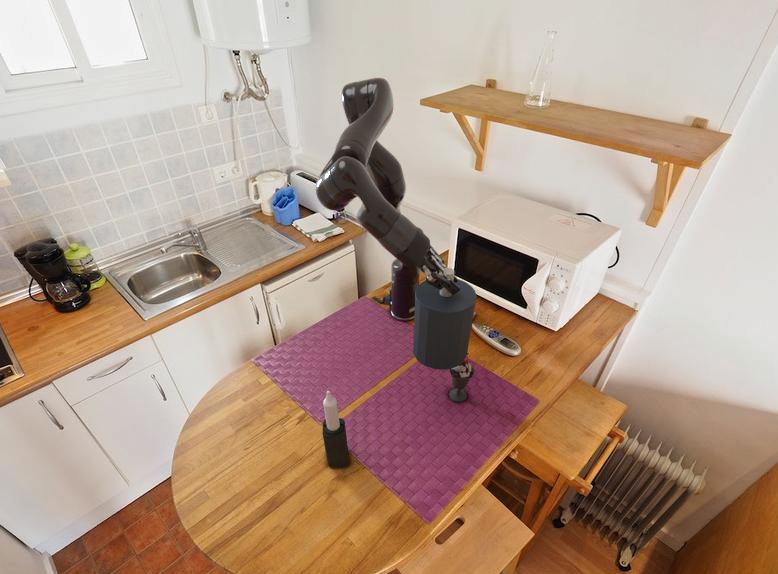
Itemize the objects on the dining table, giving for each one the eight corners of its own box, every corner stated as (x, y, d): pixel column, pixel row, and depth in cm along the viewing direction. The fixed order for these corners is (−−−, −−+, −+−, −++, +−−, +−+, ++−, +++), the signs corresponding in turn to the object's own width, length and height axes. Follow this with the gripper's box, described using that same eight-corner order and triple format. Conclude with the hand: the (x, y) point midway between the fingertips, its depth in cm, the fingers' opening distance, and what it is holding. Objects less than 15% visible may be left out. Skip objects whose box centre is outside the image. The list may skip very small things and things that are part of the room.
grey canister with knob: (401, 349, 110) (403, 269, 94) (438, 326, 116) (446, 248, 101) (441, 378, 102) (450, 297, 86) (478, 352, 109) (493, 272, 93)
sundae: (469, 387, 124) (475, 348, 114) (470, 404, 119) (477, 366, 109) (446, 385, 125) (450, 347, 115) (446, 403, 120) (451, 365, 110)
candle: (328, 450, 108) (316, 383, 92) (348, 449, 109) (340, 381, 92) (327, 468, 105) (315, 401, 88) (348, 466, 105) (340, 399, 88)
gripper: (388, 234, 95) (439, 279, 103) (390, 268, 84) (447, 316, 93) (413, 211, 91) (463, 260, 100) (418, 244, 81) (474, 295, 89)
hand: (455, 287), depth 96 cm, fingers closed on grey canister with knob, 3 cm apart
